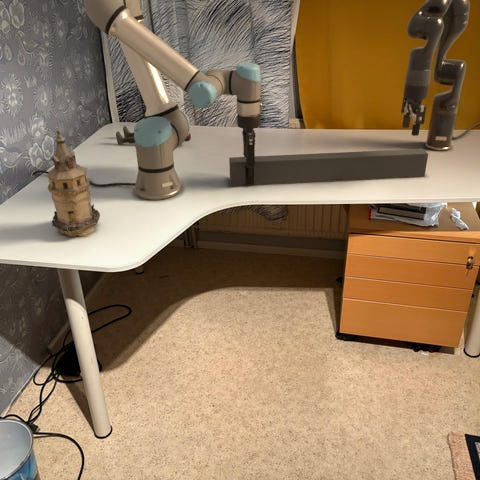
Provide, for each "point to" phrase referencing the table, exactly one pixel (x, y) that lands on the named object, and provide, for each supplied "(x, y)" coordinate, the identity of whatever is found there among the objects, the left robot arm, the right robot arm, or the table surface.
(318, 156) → the post
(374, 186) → the table surface
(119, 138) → the toy
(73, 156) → the miniature building
